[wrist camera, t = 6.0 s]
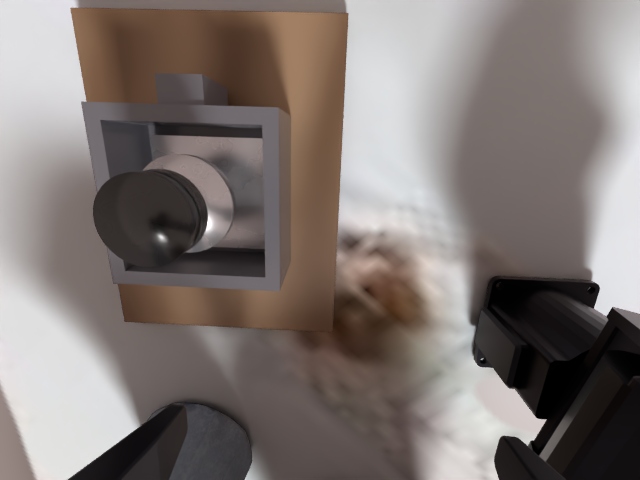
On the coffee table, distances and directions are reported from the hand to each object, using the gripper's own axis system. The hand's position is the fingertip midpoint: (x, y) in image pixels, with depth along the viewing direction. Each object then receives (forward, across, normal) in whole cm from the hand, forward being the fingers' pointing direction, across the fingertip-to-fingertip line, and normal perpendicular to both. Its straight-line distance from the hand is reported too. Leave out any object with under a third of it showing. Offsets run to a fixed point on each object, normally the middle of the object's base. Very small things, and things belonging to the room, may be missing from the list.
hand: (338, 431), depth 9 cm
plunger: (+10, +7, -5) cm, 13 cm away
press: (+11, +7, -5) cm, 14 cm away
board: (+12, +7, -5) cm, 15 cm away
